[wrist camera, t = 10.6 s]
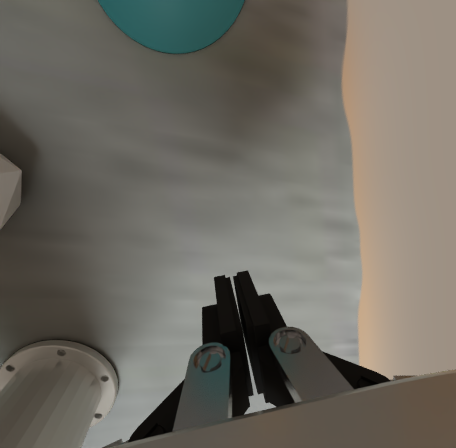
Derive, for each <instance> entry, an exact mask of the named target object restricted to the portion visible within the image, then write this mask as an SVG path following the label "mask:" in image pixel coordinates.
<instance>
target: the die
mask: <svg viewBox="0 0 456 448" xmlns="http://www.w3.org/2000/svg"><path fill="white" fill-rule="evenodd" d="M21 181H22V170H21V169H19V168H18V167H17V166H16V165H14V164H13V163H12V162H11V161H9V160H8V159H7V158H6V157H4V156H3V155H2V154H1V153H0V230H1V228H2V227H3V226H4V225H5V223H6V222H7V221H8V219H9V218H10V217H11V216H12V214H13V213H14V212H15V211H16V209H17V208H18V207H19V206H20V204H21Z"/></svg>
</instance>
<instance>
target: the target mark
mask: <svg viewBox="0 0 456 448" xmlns="http://www.w3.org/2000/svg"><path fill="white" fill-rule="evenodd" d="M244 1H245V0H98V2H99V3H100V5H101V6H102V8H103V9H104V11H105V12H106V14H107V15H108V16H109V17H110V19H111V20H112V21H113V22H114V23H115V25H116V26H118V27H119V28H120V29H121V30H122V31H123V32H124V33H125V34H126V35H128V36H129V37H130V38H132V39H133V40H135V41H136V42H138V43H140V44H142V45H143V46H146V47H148V48H150V49H153V50H156V51H160V52H164V53H172V54H182V53H189V52H194V51H197V50H200V49H203V48H205V47H207V46H209V45H211V44H212V43H214V42H215V41H216V40H218V39H219V38H220V37H221V36H222V35H223V34H224V33H225V32H226V31H227V30H228V29H229V28H230V27H231V25H232V24H233V23H234V21H235V20H236V18H237V16H238V14H239V13H240V10H241V8H242V6H243V3H244Z"/></svg>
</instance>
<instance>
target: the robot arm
mask: <svg viewBox="0 0 456 448" xmlns="http://www.w3.org/2000/svg"><path fill="white" fill-rule="evenodd" d="M233 279H234V285H235V291H236V297H237V302H238V308H239V313H238V309H237V305H236V301H235V297H234V293H233V288H232V284H231V280H230V277H228V278H225V275H222V276H217V277H214V281H215V290H216V299H217V304H215V305H210V306H206V307H202V342H203V345H202V346H200V347H199V348H197V349H196V350H195V351H194V352H193V354H192V355H191V357H190V359H189V363H188V367H187V372H186V376H185V379H184V380H183V381H182V382H181V383H180V384H179V385H178V386H177V387H176V388H175V390H174V391H173V392H172V393H171V394H170V395H169V396H168V397H167V398H166V399H165V400H164V401H163V402H162V403H161V404H160V405H159V406H158V407H157V408H156V409H155V410H154V411H153V412H152V413H151V414H150V415H149V416H148V417H147V418H146V419H145V420H144V422H143V423H142V424H141V425H140V426H139V427H138V428H137V429H136V430H135V432H134V433H133V434H132V435H131V437H130V439H129V440H128V441H126V442H123V441H122V439H120V440H118V441H116V442H113V443H111V444H109V445H107V446H105V447H103V448H456V370H448V371H442V372H436V373H430V374H424V375H419V376H394V378H393V380H389V379H388V378H386V377H385V376H383V375H381V374H379V373H377V372H374V371H372V370H369V369H367V368H364V367H362V366H359V365H356V364H354V363H351V362H348V361H346V360H343V359H341V358H338V357H335V356H333V355H330V354H328V353H325V352H322V351H321V350H320V348H319V347H318V346H317V345H316V344H315V343H314V341H313V340H312V339H311V338H310V337H309V336H308V334H306V333H305V332H304V331H303V330H301V329H299V328H295V327H287V326H286V324H285V322H284V320H283V318H282V316H281V314H280V312H279V310H278V308H277V306H276V304H275V302H274V300H273V298H272V296H271V295H270V294H265V295H260V296H258V294H257V292H256V289H255V287H254V284H253V282H252V279H251V277H250V275H249V272H248V271H243V272H238V273H237V276H233ZM239 314H240V317H239ZM240 320H241V322H240ZM241 325H242V326H241ZM242 330H243V331H242ZM243 334H244V336H243ZM244 339H245V342H244ZM245 343H246V347H247V351H248V355H249V359H250V363H251V368H252V372H253V376H254V380H255V384H256V388H257V392H258V394H261V393H263V394H264V398H265V402H266V403H269V402H270V403H271V404H273V405H275V406H276V407H275V408H271V409H267V410H262V411H258V412H254V413H250V414H245V415H244V413H245V412H246V410H247V409H248V407H250V403H249V397H248V396H252V395H253V389H252V383H251V377H250V371H249V365H248V359H247V353H246V348H245ZM117 392H118V379H117V376H116V373H115V371H114V369H113V367H112V365H111V364H110V363H109V362H108V361H107V359H106V358H105V357H104V356H102V355H101V354H100V353H98V352H97V351H95V350H93V349H91V348H90V347H88V346H85V345H82V344H79V343H76V342H71V341H65V340H48V341H41V342H37V343H34V344H30V345H28V346H26V347H24V348H22V349H20V350H18V351H17V352H16V353H14V354H13V355H12V356H11V357H10V358H9V359H8V360H7V361H6V362H5V363H4V364H3V365H2V367H1V368H0V448H81V447H82V444H83V442H84V440H85V437H86V435H87V432H88V430H89V428H90V427H92V426H94V425H96V424H97V423H98V422H100V421H101V420H103V419H104V417H105V416H106V415H107V414H108V413H109V412H110V410H111V408H112V407H113V405H114V402H115V399H116V396H117Z"/></svg>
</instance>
